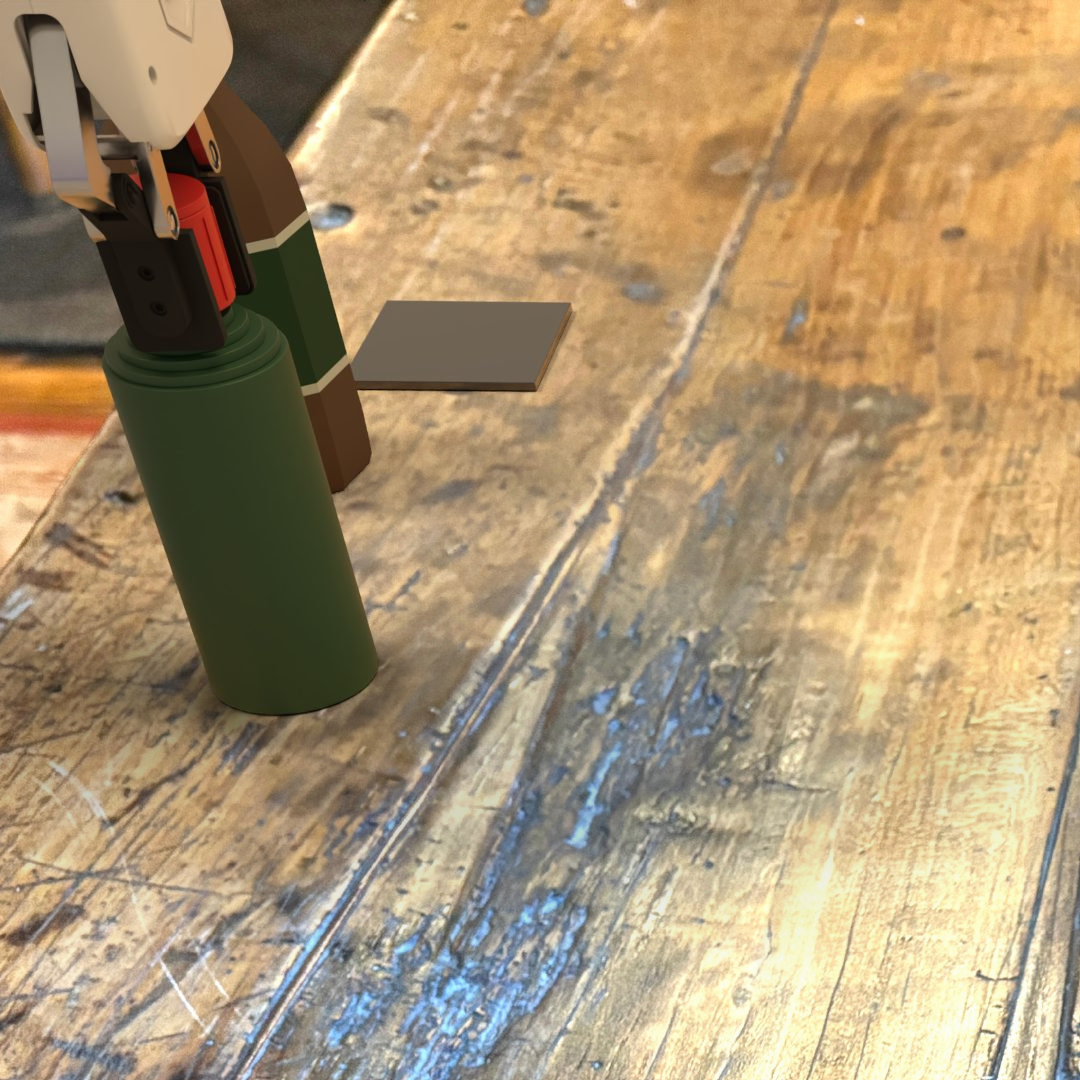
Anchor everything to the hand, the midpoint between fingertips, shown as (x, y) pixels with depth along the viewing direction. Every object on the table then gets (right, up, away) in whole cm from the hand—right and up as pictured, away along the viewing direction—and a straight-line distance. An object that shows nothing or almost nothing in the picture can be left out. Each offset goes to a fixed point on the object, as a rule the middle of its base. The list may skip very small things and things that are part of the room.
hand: (196, 314), depth 91 cm
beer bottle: (-7, +2, +22) cm, 23 cm away
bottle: (-1, -10, +10) cm, 14 cm away
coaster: (-2, +12, +31) cm, 33 cm away
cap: (-1, 0, 0) cm, 1 cm away
